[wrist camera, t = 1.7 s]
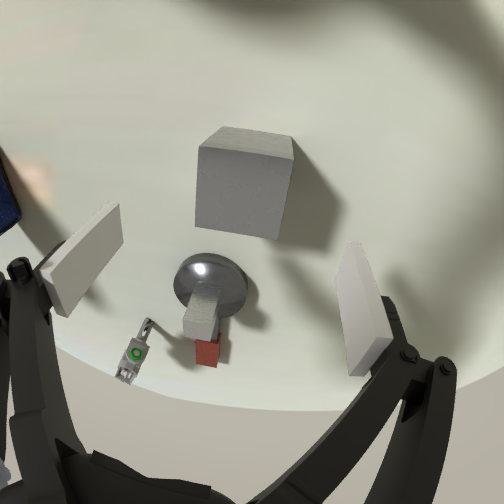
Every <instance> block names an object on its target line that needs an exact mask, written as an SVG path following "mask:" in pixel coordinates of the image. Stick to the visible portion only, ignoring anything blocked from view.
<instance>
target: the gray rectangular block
mask: <svg viewBox="0 0 504 504" xmlns="http://www.w3.org/2000/svg"><path fill="white" fill-rule="evenodd" d="M293 163H294V155H293V147H292V140H291V137H290V136H285V135H279V134H273V133H267V132H261V131H254V130H247V129H240V128H231V127H221V128H220V129H219V130H218V131H216V132H215V133H214V134H213V135H212V136H210V137H209V138H208V139H207V140H205V141H204V142H203V143H202V144H201V145H200V146H199V153H198V168H197V187H196V210H195V227H200V228H207V229H213V230H219V231H225V232H231V233H237V234H243V235H249V236H255V237H261V238H267V239H273V240H278V235H279V230H280V226H281V221H282V216H283V212H284V207H285V202H286V197H287V192H288V188H289V183H290V178H291V173H292V168H293Z"/></svg>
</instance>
